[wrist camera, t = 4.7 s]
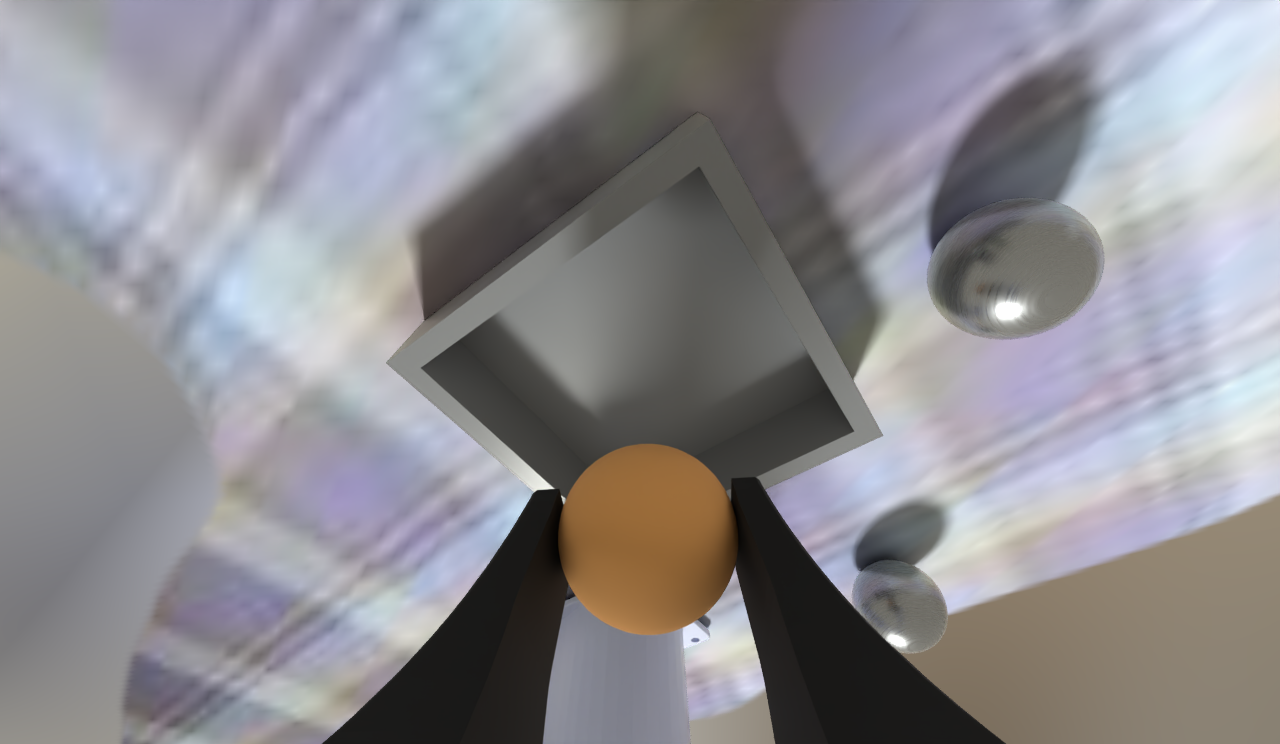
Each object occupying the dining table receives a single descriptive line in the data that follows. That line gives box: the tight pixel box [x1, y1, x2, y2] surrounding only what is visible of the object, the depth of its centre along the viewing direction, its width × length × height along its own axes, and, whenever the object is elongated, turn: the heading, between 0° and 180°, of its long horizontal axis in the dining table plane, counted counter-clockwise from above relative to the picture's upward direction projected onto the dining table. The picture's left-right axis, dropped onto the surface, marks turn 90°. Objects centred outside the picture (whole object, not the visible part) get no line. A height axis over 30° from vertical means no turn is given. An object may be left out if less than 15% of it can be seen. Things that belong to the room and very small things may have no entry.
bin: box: [386, 112, 883, 505], centre depth 18 cm, size 13×13×3 cm
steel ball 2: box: [927, 198, 1104, 340], centre depth 15 cm, size 4×4×4 cm
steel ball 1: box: [852, 560, 948, 653], centre depth 25 cm, size 4×4×4 cm
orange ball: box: [558, 444, 738, 635], centre depth 12 cm, size 4×4×4 cm
